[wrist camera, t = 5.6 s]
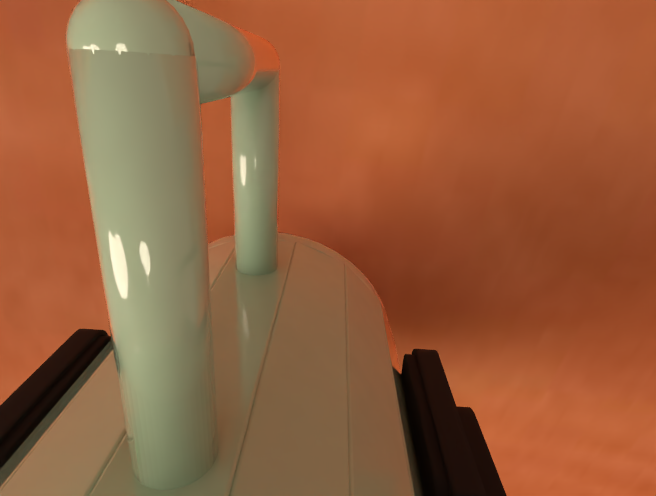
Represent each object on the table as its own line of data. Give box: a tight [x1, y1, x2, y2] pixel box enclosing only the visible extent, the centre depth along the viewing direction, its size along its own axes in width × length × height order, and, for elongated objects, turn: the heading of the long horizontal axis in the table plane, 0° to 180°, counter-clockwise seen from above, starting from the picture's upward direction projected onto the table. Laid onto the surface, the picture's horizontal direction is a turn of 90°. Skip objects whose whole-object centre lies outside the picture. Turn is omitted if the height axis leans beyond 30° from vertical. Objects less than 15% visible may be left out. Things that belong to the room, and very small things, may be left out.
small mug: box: [0, 0, 425, 496], centre depth 8 cm, size 11×7×9 cm, turn 177°
